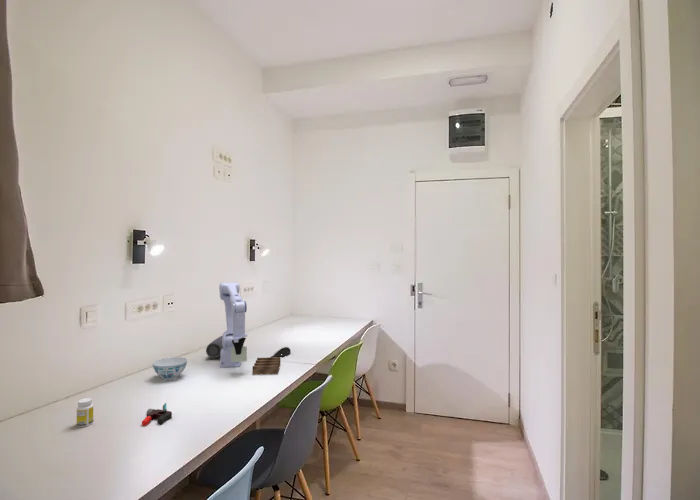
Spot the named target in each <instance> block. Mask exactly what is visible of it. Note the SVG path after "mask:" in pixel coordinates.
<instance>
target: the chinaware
mask: <svg viewBox="0 0 700 500" xmlns="http://www.w3.org/2000/svg"><path fill="white" fill-rule="evenodd" d="M187 363H188V358H186V357H182V356H172V357H164V358H160V359H157V360H154V361H153V362H152V363H151V364H152V368H153V370H154V372H155V373H156V375H158V376H159V377H160V378H161V379H162V380H164V381H171V380H176V379H178V378H179V375H181V374H182V373H183V372H184V370H185V369H186V367H187Z"/></svg>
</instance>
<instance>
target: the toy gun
mask: <svg viewBox="0 0 700 500" xmlns="http://www.w3.org/2000/svg"><path fill="white" fill-rule="evenodd" d="M172 415H173V413H172V411H170V410H167V402H164V404H163V405H162V409H161V408H160V409H159V408H157V409H156V408H154V409H153V408H148V409H147V411H146V417H145V418H144V419H143V420H142V421H141V425H142V426H144V427H145V426H147V425H148V424H150V422H151V421H153V420H157V421H156V422H157V424H158V425H163V424H165V423H166V422H167V421H169V420H171V419H173V416H172Z"/></svg>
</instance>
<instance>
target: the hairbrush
mask: <svg viewBox="0 0 700 500" xmlns="http://www.w3.org/2000/svg"><path fill="white" fill-rule="evenodd" d="M281 354H282V355H281ZM289 354H291V348H290V347H288V345H285V346H284V347H281V348H279V349H278V350H276V351H274V353H273V355H271V356H270V357H282V358H285V356H286V357H288V356H290V355H289Z"/></svg>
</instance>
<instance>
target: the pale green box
mask: <svg viewBox="0 0 700 500" xmlns="http://www.w3.org/2000/svg"><path fill="white" fill-rule="evenodd" d="M247 355H248V346H246V345H243V346H242V350H241V354H240V355H236V352H235V348H234V346H232V347H231V362H242V363H243V362H247V361H248V359H247V358H248V356H247Z"/></svg>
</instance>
